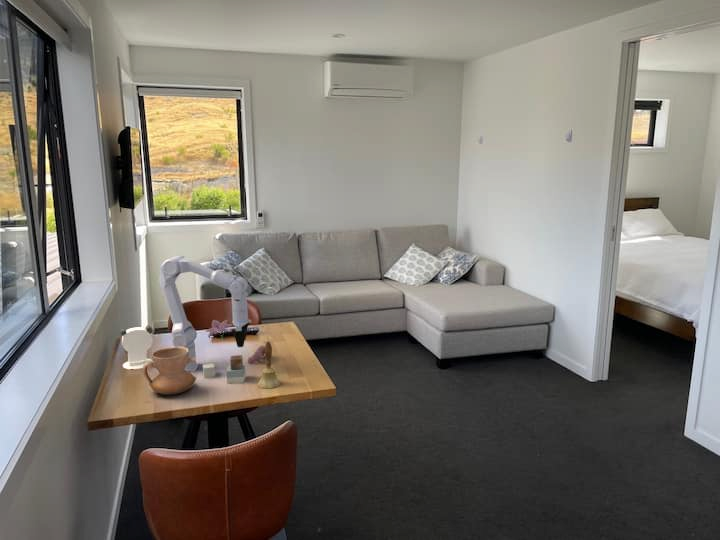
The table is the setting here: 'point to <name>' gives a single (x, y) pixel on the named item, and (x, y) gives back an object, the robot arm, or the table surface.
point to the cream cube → (209, 370)
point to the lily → (217, 327)
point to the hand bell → (268, 371)
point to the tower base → (236, 379)
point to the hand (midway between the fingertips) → (241, 343)
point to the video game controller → (257, 355)
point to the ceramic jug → (170, 371)
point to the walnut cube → (236, 362)
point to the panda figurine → (137, 346)
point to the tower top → (235, 372)
